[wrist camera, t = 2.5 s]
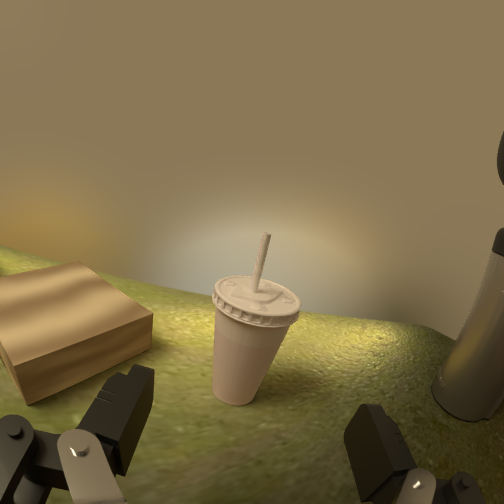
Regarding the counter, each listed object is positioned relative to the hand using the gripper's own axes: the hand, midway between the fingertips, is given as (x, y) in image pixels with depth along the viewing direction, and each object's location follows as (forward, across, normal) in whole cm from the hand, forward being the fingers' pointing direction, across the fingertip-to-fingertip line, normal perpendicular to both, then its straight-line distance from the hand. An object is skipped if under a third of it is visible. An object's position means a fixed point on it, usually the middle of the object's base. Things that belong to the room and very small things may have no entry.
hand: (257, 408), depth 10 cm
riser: (+12, +18, +10) cm, 23 cm away
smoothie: (+12, 0, +10) cm, 15 cm away
